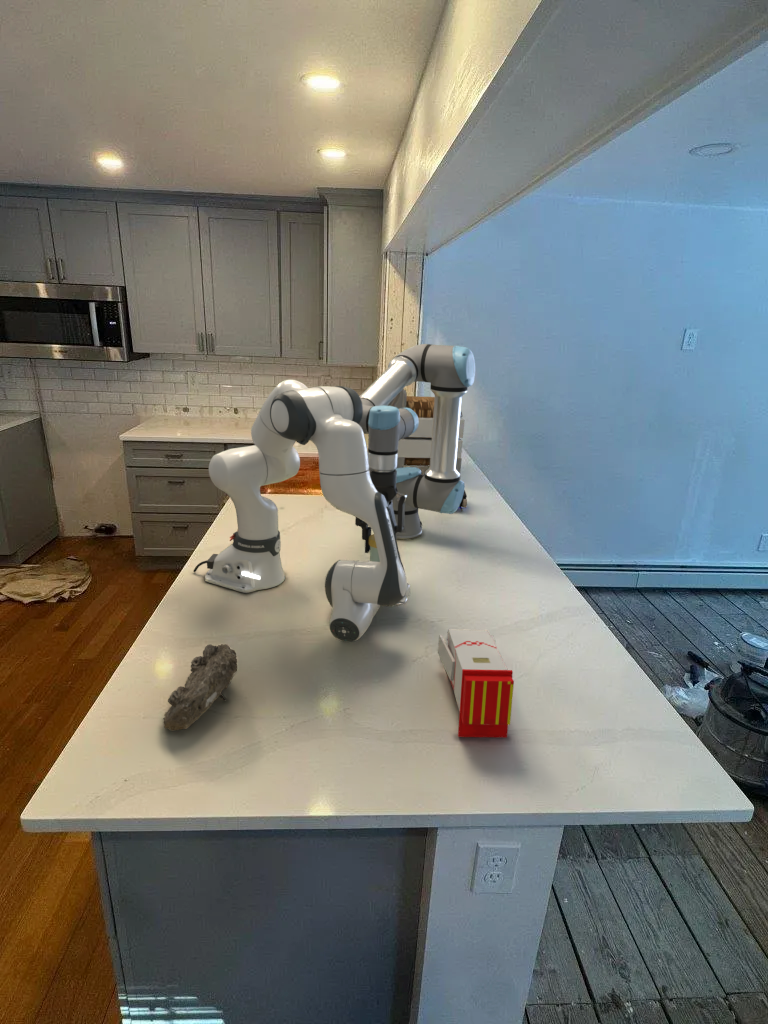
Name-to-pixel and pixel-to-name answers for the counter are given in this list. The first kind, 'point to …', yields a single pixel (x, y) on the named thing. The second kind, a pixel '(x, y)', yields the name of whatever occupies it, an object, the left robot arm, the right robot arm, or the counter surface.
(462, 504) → the figurine character
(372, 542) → the lid
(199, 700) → the fossil
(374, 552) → the jar
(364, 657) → the counter surface
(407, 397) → the white slatted crate
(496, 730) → the toy
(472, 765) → the counter surface
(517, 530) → the counter surface
